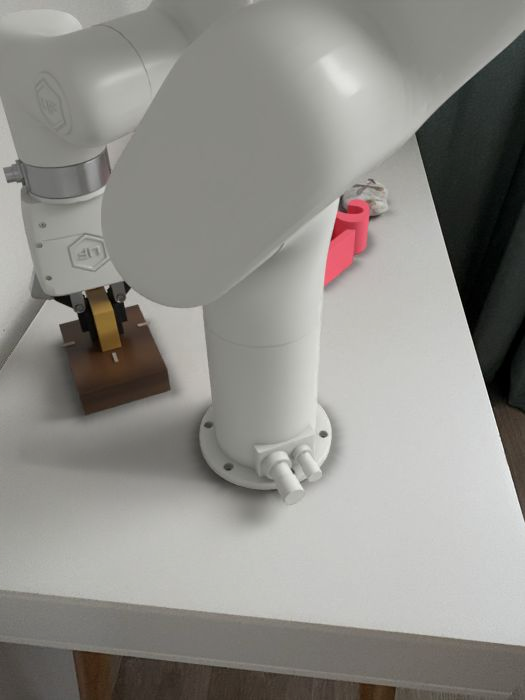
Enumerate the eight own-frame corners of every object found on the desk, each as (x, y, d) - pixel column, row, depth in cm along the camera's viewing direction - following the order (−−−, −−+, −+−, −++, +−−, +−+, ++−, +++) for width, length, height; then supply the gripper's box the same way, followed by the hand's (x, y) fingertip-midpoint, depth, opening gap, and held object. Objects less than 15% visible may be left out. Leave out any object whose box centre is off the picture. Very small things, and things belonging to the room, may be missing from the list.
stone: (337, 190, 98) (338, 174, 97) (384, 189, 98) (385, 173, 96) (342, 221, 91) (343, 205, 89) (393, 220, 91) (395, 203, 89)
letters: (360, 290, 78) (363, 256, 75) (280, 283, 80) (279, 249, 77) (368, 232, 89) (371, 200, 85) (296, 226, 90) (297, 194, 87)
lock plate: (174, 389, 66) (170, 366, 64) (81, 416, 63) (74, 394, 61) (143, 319, 75) (138, 298, 73) (60, 341, 72) (53, 319, 70)
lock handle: (121, 347, 66) (112, 307, 63) (102, 352, 66) (92, 312, 62) (110, 317, 70) (101, 278, 67) (92, 322, 70) (82, 283, 66)
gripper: (-25, 207, 51) (34, 373, 63) (166, 169, 55) (187, 331, 67) (-31, 169, 56) (25, 329, 68) (144, 138, 60) (167, 293, 73)
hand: (105, 329), depth 68 cm, fingers closed on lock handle, 2 cm apart
